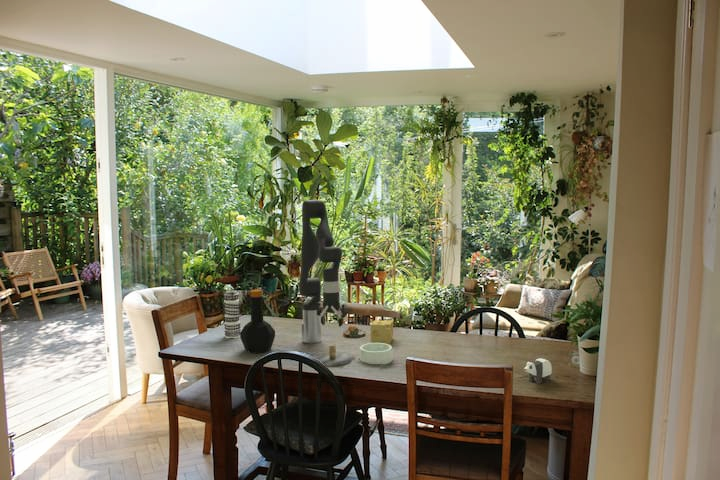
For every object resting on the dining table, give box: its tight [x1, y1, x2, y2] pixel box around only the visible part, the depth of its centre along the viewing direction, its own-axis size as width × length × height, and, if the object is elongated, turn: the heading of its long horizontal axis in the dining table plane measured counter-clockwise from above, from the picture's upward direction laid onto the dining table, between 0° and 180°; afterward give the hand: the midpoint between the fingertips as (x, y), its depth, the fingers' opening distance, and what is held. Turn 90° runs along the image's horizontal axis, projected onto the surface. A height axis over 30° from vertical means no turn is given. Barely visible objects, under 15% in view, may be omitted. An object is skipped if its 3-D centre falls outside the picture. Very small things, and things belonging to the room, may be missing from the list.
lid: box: [314, 344, 352, 368], centre depth 262 cm, size 17×17×7 cm
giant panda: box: [523, 357, 553, 385], centre depth 233 cm, size 15×6×10 cm, turn 125°
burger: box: [342, 323, 366, 339], centre depth 307 cm, size 12×12×8 cm
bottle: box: [239, 289, 276, 354], centre depth 282 cm, size 16×16×30 cm
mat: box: [332, 356, 356, 369], centre depth 262 cm, size 16×16×1 cm
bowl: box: [359, 342, 393, 365], centre depth 264 cm, size 15×15×6 cm
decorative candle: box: [222, 289, 242, 339], centre depth 306 cm, size 9×9×25 cm
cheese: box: [370, 319, 394, 345], centre depth 294 cm, size 10×11×10 cm
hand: (331, 325), depth 261 cm, fingers open, 8 cm apart
